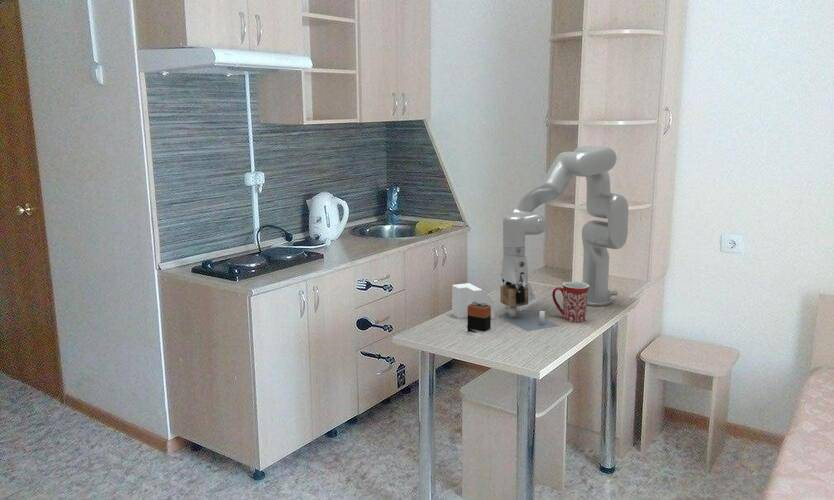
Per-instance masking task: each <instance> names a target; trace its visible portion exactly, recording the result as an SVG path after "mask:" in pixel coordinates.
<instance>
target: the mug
mask: <svg viewBox="0 0 834 500" xmlns="http://www.w3.org/2000/svg"><path fill="white" fill-rule="evenodd" d="M588 288H589V285H588V284H586V283H583V282H581V281H580V282H578V281H567V282H563V283H562V287H560V286H558V287H557V286H556V287H555V288H554V289H553V290H552V300H553V303H554V305H555V306H556V308H557V310H558V311H559V312H560V314H561V315H562V317H563V321H566V322H570V323H583V322H585V321H586V314H587V306H588V305H587V297H588ZM556 291H560V292H561V295H562V301H563V302H562V303H563V309H562V307H561V306H560V304H559V303H558V301H557V298H556Z"/></svg>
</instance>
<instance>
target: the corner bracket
mask: <svg viewBox="0 0 834 500" xmlns="http://www.w3.org/2000/svg"><path fill="white" fill-rule="evenodd" d="M472 302H477V303H479V304H480V303H487V305H490V306H491V320H493V319H495V300H493V299H492V298H491V297H490V296H489V295H488V294H487V292H485V290H483V289H481V288H480V287H477V286H476V285H473V284H472V283H470V282H469V283H458V284H451V315H453V316H454V317H456V318H458V319H462V318H463V319H464V318H468V305H470V304H472Z"/></svg>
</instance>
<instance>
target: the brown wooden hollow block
mask: <svg viewBox="0 0 834 500" xmlns="http://www.w3.org/2000/svg"><path fill="white" fill-rule="evenodd" d="M499 287H500V290H499V292H500V293H499V295H500V299H499V300H500V301H499V302H500V303H501V304H503V305H505V306H507V307H508V306H509V307H516V306H522V305H527V304H528V287H527V289H526V292H525V302H524V303H520V304H517V303H516V292H517V289H516V285H515V284H510V285H503V284H502V285H500V286H499ZM520 287H521V285H519V288H520Z"/></svg>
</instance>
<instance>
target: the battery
mask: <svg viewBox="0 0 834 500" xmlns="http://www.w3.org/2000/svg"><path fill="white" fill-rule="evenodd" d="M491 321H492V319H491V306H490V305H487V303H480V304H479V303H477V302H472V304H470V305H468V317H467V324H466V325H467V328H466V329H467V332H469V333H474V334H478V332H476V331H479V332H486V331H489V330H491V327H492V326H491Z"/></svg>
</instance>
